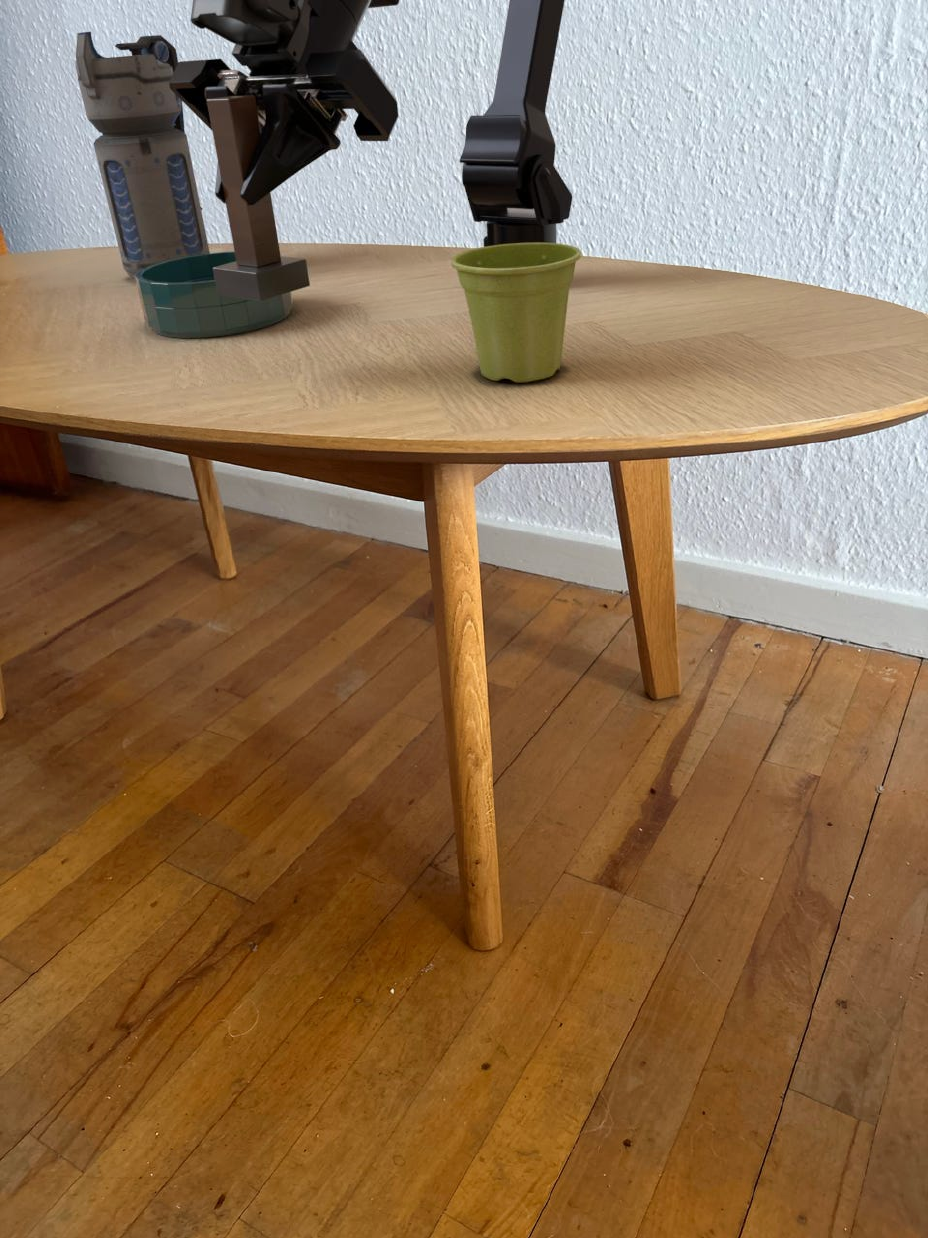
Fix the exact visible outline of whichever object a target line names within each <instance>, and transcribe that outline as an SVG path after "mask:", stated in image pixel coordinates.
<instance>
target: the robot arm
mask: <svg viewBox="0 0 928 1238" xmlns="http://www.w3.org/2000/svg"><path fill="white" fill-rule="evenodd" d="M399 3H400V0H192V6H191V12H190V13H191V14H190V22H191V24H192V25H194V26H195V27H197V28H199V29H201V30H203V29H206V30H208V31H210V32H212V33H214V34H216V35H217V36H219V37H221V38H222V39H225V40H226V41H228V42H230V43H232V44H234V47H233V48H232V51H231V55H232V56H233V58H234V59H236V61H237V62H238V63H239V64H240V65H241V66H242V67H247V69H249V70H250V71H249V74H248V75H249V76H248V75H246V74H245V73H243V72H242V71H240V70H237V69H231V68H230V67H229V66H228V64H226V62H225V61H224V60H223V59H222V58H210V59H209V58H208V59H193V60H184V61H183V60H182V61H178V65H177V67H176V69H175V71H174V73H173V75H172V78H171V80H170V82H169V86H170V89H171V90H172V91H173V92H174V93H175V94H176V95H177V96H178V97H179V98H180V99H181V100H182V103H183V104H184V105H186V106H187V107H188V109H190V111H192V113H193V114H195V115H196V116H197V117H198V118H199V120H201V122H203V123H204V124H205V125H206V127H207V128H209V130H211V131H212V126H211V121H210V115H209V110H208V104H207V99H213V98H221V97H229V96H249V95H254V96H255V99H256V105H257V111H258V118H259V124H260V130H261V135H260V138H259V140H258V143H257V146H256V148H255V151H254V154H253V157H252V159H251V162H250V165H249V167H248V170H247V173H246V175H245V179H244V182H243V186H242V189H241V193H240V197H241V198H242V199H243V200H244V201H245V202H246V203H247V204H248V205H254V204H256V203H257V202H258V201H260V200H261V199H262V198H264V197H265V196H266V195H267V194H269V193H272V192H273V191H274V190H275V189H277V188H278V187H280V186H281V185H283V183H285V182H286V181H287V180H289V179H290V178H292V177H293V176H294V175H296V174H297V173H299V172H300V171H302V169H304V168H306V167H307V166H309V165H310V164H312V163H313V162H315V161H316V160H317V159H319V158H320V157H322V156H324V155H325V154H326V153H328V152H330V151H334V150H335V151H336V150H338V149H339V147H340V146H341V144H342V142H341V139H340V138H339V137H338V136H337V131H338V129H339V128H340V125H341V123H342V122H346V121H347V119H348V117H349V114H348V113H347V112H346V111H345V110H354V111H355V113H356V114H357V117H356V119H355V120H354V123H353V127H352V128H353V130H354V133H355V135H356V137H357V138H358V139H359V140H360V141H361V142H389V140H390V138H391V135H392V133H393V132H394V131H393V130H394V128H395V126H396V125H397V122H398V120H399V108H398V100H397V96H396V95H395V94H394V93H393V92H392V90H391V89H390V87H389V86H388V85H387V83H386V82H385V80H384V79H383V78H382V77H381V76H380V74H379V72H378V71H377V70H376V69H375V67H374V66H373V65H372V63H371V62H370V61H369V59H368V58H367V56H366V55H365V54H364V53H363V51H362V50H361V49H359V48H358V46H357V45H356V44H355V42H354V40H355V37H356V35H357V33H358V31H359V29H360V26H361V24H362V22H363V20H364V19H365V15H366V13H367V11H368V9H375V8H385V7H386V8H387V7H394V6H398V5H399ZM564 6H565V0H509V3H508V7H507V8H508V9H507V15H506V20H505V25H504V26H505V27H504V33H503V38H502V45H501V51H500V57H499V64H498V69H497V75H496V81H495V88H494V94H493V98H492V102H491V104H490V105H489V106H488V108H487V110H486V111H485V112H484V113H483V115H470V116H469V118H468V120H467V122H466V124H465V125H466V126H465V138H464V146H463V150H462V152H461V155H460V158H459V163H460V164H462V170H461V181H462V186H463V188H464V191H465V195H466V198H467V201H468V205H469V208H470V212H471V215H472V218H473V221H474V222H475V223H481V222H486V236H484V237H483V239H482V240H483V241H482V242H483V247H487V246H494V245H502V244H515V243H557V241H558V239H557V225H558V224H563V223H564V222H565V220H568V219H569V218H570V215H571V209H572V208H571V207H572V202H573V195H572V192H571V191H570V189H569V188H568V186H567V184H566V183H565V181H564V179H563V178H562V176H561V175H560V173H559V171H557V170H558V169H556V167H555V157H556V141H555V139H554V135H553V133H552V130H551V127H550V124H549V120H548V118H547V115H546V108H547V104H548V103H547V102H548V97H549V91H550V85H551V80H552V73H553V69H554V63H555V58H556V52H557V47H558V46H557V45H558V40H559V34H560V28H561V23H562V17H563V12H564ZM214 195H215V197H216V198H217V199H218V200H219V201H220V202H221V203H223V204H224V205H226V202H225V197H224V191H223V186H222V181H221V175H220V170H219V164H218V163H217V165H216V179H215V190H214Z"/></svg>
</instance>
